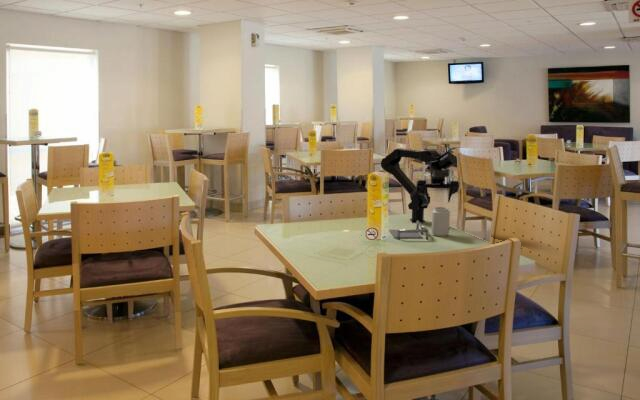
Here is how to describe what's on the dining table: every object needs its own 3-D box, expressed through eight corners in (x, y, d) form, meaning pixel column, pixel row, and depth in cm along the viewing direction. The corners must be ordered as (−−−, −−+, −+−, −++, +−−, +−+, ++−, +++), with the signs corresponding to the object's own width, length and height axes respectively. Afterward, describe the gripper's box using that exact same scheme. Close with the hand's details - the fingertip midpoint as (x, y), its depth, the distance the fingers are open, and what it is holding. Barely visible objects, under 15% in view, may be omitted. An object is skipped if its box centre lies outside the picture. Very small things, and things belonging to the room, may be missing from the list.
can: (447, 233, 245) (448, 206, 243) (449, 237, 238) (451, 209, 236) (430, 232, 246) (431, 206, 244) (432, 236, 239) (433, 209, 237)
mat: (389, 230, 249) (389, 229, 249) (415, 230, 249) (415, 229, 249) (394, 238, 235) (394, 237, 235) (422, 238, 236) (422, 237, 236)
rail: (389, 228, 253) (390, 219, 252) (418, 228, 254) (418, 219, 253) (397, 239, 233) (397, 230, 233) (428, 239, 234) (428, 230, 233)
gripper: (418, 162, 250) (419, 190, 242) (459, 163, 249) (462, 191, 240) (415, 177, 259) (416, 204, 251) (455, 178, 258) (458, 205, 249)
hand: (438, 201), depth 247 cm, fingers open, 9 cm apart
